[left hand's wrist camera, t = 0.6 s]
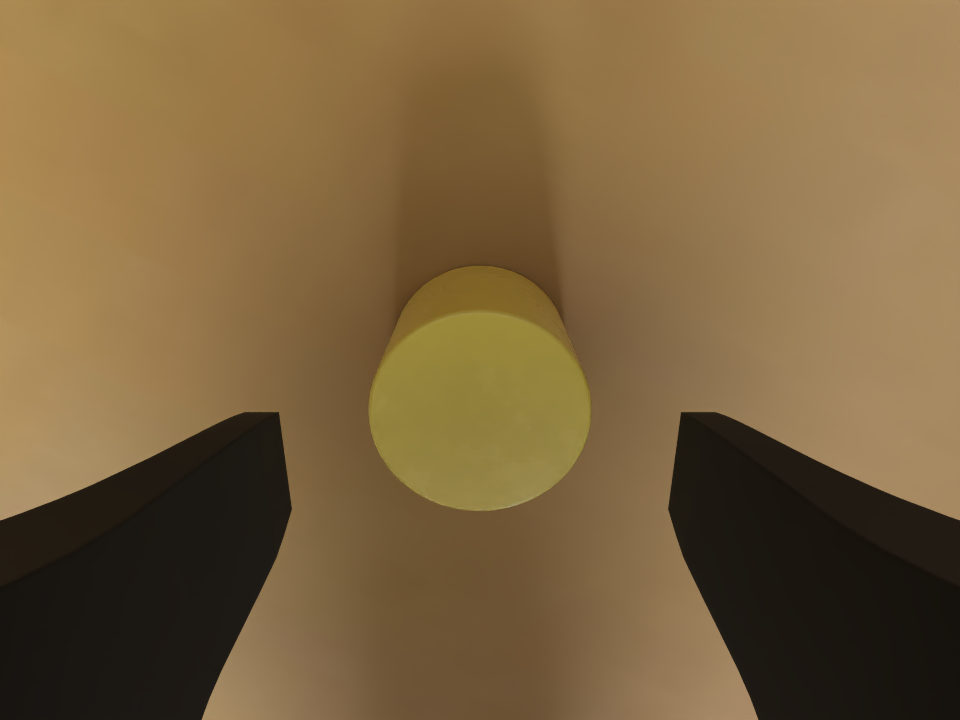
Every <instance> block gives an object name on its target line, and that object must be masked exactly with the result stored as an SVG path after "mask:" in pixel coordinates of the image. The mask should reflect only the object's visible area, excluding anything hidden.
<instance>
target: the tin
mask: <svg viewBox="0 0 960 720" xmlns="http://www.w3.org/2000/svg"><path fill="white" fill-rule="evenodd" d="M368 415H369V423H370V430H371V433H372V437H373V440H374V443H375V445H376V447H377V449H378V451H379V454H380V456H381V457H382V459H383V460H384V462H385V463H386V465H387V466H388V468H389V469H390V470H391V471H392V472H393V474H394V475H395V476H396V477H397V478H398V479H399V480H400V481H401V482H403V483H404V484H405V485H406V486H407V487H409V488H410V489H411V490H413V491H414V492H416V493H417V494H419V495H421V496H423V497H424V498H426V499H428V500H431V501H433V502H435V503H438V504H440V505H444V506H447V507H451V508H455V509H461V510H468V511H490V510H499V509H504V508H509V507H513V506H516V505H519V504H522V503H525V502H527V501H529V500H532V499H534V498H536V497H537V496H539V495H541V494H543V493H544V492H546V491H547V490H549V489H550V488H551V487H553V486H554V485H555V484H556V483H557V482H559V481H560V480H561V479H562V478H563V477H564V476H565V475H566V474H567V472H568V471H569V470H570V469H571V467H572V466H573V465H574V463H575V462H576V460H577V458H578V457H579V455H580V454H581V452H582V449H583V447H584V445H585V443H586V440H587V436H588V433H589V429H590V423H591V416H592V409H591V396H590V390H589V386H588V383H587V380H586V377H585V374H584V372H583V369H582V367H581V365H580V362H579V360H578V357H577V355H576V353H575V350H574V348H573V346H572V343H571V341H570V339H569V336H568V334H567V332H566V329H565V327H564V325H563V322H562V320H561V318H560V315H559V313H558V311H557V309H556V308H555V306H554V304H553V303H552V301H551V300H550V299H549V298H548V296H547V295H546V294H545V293H544V292H543V291H542V290H541V289H540V288H539V287H538V286H536V285H535V284H534V283H533V282H531V281H530V280H528V279H527V278H525V277H523V276H521V275H519V274H517V273H515V272H512V271H509V270H506V269H503V268H498V267H493V266H467V267H462V268H457V269H454V270H451V271H448V272H445V273H443V274H441V275H439V276H437V277H435V278H433V279H432V280H430V281H429V282H427V283H426V284H424V285H423V286H422V287H421V288H420V289H419V290H418V291H417V292H416V293H415V294H414V295H413V296H412V298H411V299H410V300H409V301H408V303H407V304H406V306H405V308H404V309H403V311H402V313H401V315H400V318H399V320H398V322H397V325H396V327H395V329H394V332H393V334H392V336H391V339H390V341H389V343H388V346H387V348H386V351H385V353H384V355H383V358H382V360H381V362H380V365H379V367H378V369H377V372H376V374H375V376H374V379H373V383H372V386H371V390H370V396H369V403H368Z"/></svg>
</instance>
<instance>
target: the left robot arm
mask: <svg viewBox="0 0 960 720" xmlns="http://www.w3.org/2000/svg"><path fill="white" fill-rule="evenodd" d="M291 510H292V507H291V500H290V492H289V485H288V477H287V470H286V462H285V455H284V447H283V440H282V432H281V425H280V417H279V412H244V413H241V414H238V415H235V416H233V417H231V418H228V419H226V420H224V421H222V422H220V423H218V424H215V425H213V426H211V427H209V428H207V429H205V430H203V431H201V432H200V433H198V434H196V435H194V436H192V437H190V438H188V439H186V440H184V441H182V442H180V443H178V444H176V445H174V446H172V447H170V448H168V449H166V450H164V451H162V452H160V453H158V454H156V455H154V456H152V457H150V458H148V459H146V460H144V461H142V462H140V463H138V464H136V465H134V466H131V467H129V468H127V469H125V470H123V471H121V472H119V473H117V474H114V475H112V476H110V477H108V478H106V479H104V480H102V481H100V482H97V483H95V484H93V485H91V486H88V487H86V488H84V489H82V490H79V491H77V492H74V493H72V494H70V495H67V496H65V497H62V498H60V499H57V500H55V501H52V502H49V503H47V504H44V505H42V506H39V507H36V508H34V509H31V510H29V511H26V512H23V513H21V514H18V515H15V516H12V517H9V518H7V519H4V520H1V521H0V720H202V717H203V714H204V711H205V709H206V706H207V703H208V701H209V698H210V696H211V693H212V691H213V689H214V686H215V684H216V682H217V680H218V677H219V675H220V673H221V671H222V668H223V666H224V664H225V662H226V660H227V658H228V656H229V654H230V652H231V650H232V648H233V646H234V644H235V642H236V640H237V638H238V636H239V634H240V632H241V630H242V628H243V626H244V624H245V622H246V620H247V618H248V615H249V613H250V611H251V609H252V607H253V605H254V603H255V601H256V599H257V597H258V595H259V593H260V591H261V589H262V587H263V585H264V583H265V581H266V578H267V576H268V574H269V572H270V570H271V568H272V566H273V564H274V562H275V559H276V557H277V554H278V551H279V548H280V545H281V542H282V539H283V537H284V533H285V530H286V527H287V523H288V520H289V517H290V513H291ZM668 510H669V513H670V517H671V520H672V523H673V527H674V530H675V533H676V537H677V539H678V542H679V545H680V548H681V551H682V554H683V557H684V559H685V562H686V564H687V566H688V568H689V570H690V572H691V574H692V576H693V578H694V581H695V583H696V585H697V587H698V589H699V591H700V593H701V595H702V597H703V599H704V601H705V603H706V605H707V607H708V609H709V611H710V613H711V615H712V618H713V620H714V622H715V624H716V626H717V628H718V630H719V632H720V634H721V636H722V638H723V640H724V642H725V644H726V646H727V648H728V650H729V652H730V654H731V656H732V658H733V660H734V662H735V664H736V666H737V668H738V671H739V673H740V675H741V677H742V680H743V682H744V684H745V686H746V689H747V691H748V693H749V696H750V698H751V701H752V703H753V706H754V709H755V711H756V714H757V717H758V720H960V520H957V519H954V518H951V517H948V516H946V515H943V514H940V513H938V512H935V511H932V510H930V509H927V508H925V507H922V506H919V505H917V504H914V503H911V502H909V501H906V500H903V499H901V498H898V497H896V496H893V495H891V494H889V493H886V492H884V491H881V490H879V489H877V488H874V487H872V486H870V485H868V484H865V483H863V482H861V481H859V480H857V479H854V478H852V477H850V476H848V475H846V474H843V473H841V472H839V471H837V470H835V469H833V468H831V467H828V466H826V465H824V464H822V463H820V462H818V461H816V460H814V459H812V458H810V457H808V456H806V455H804V454H802V453H800V452H798V451H796V450H794V449H792V448H790V447H788V446H786V445H784V444H782V443H780V442H778V441H776V440H775V439H773V438H771V437H769V436H767V435H765V434H763V433H761V432H759V431H757V430H755V429H753V428H751V427H749V426H747V425H745V424H743V423H741V422H739V421H736V420H734V419H732V418H730V417H727V416H725V415H722V414H719V413H716V412H681V417H680V425H679V432H678V440H677V447H676V455H675V462H674V470H673V477H672V485H671V492H670V500H669V507H668Z"/></svg>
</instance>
